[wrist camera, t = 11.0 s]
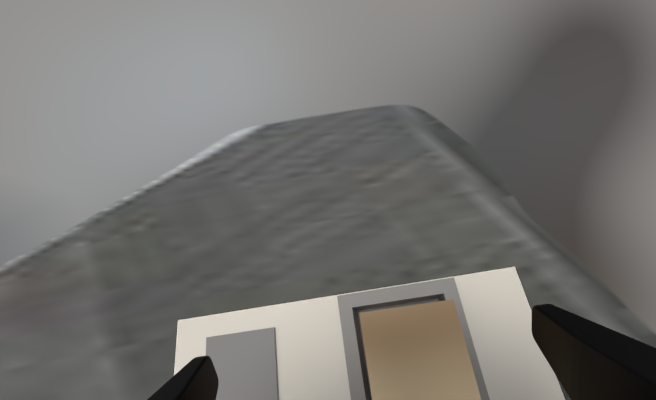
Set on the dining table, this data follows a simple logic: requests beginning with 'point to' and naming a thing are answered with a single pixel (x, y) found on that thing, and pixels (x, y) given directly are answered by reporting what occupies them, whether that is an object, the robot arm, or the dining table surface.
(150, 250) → the dining table surface
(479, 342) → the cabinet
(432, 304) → the tan rectangular block
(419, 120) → the dining table surface
